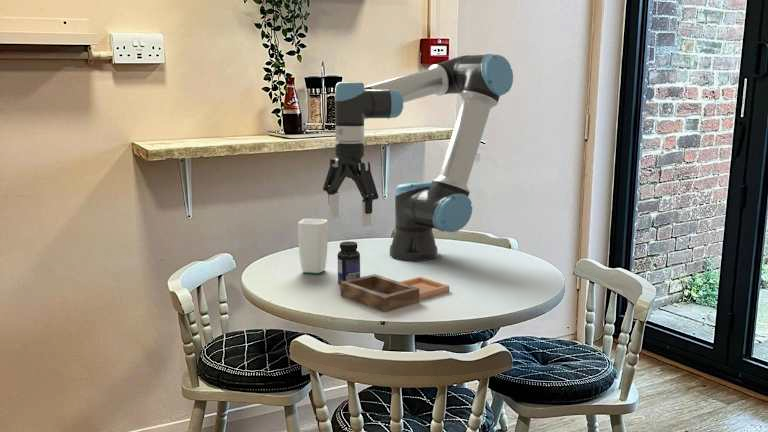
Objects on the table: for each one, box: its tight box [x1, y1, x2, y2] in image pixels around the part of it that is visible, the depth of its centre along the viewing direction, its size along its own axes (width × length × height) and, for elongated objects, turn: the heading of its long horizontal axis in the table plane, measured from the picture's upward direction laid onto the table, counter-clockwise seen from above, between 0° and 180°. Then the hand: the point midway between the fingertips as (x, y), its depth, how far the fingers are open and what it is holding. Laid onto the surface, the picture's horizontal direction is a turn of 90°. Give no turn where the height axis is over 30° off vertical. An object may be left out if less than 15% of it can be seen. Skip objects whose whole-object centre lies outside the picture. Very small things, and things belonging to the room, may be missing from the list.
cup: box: [297, 218, 329, 275], centre depth 193 cm, size 7×7×15 cm
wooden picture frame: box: [339, 273, 420, 313], centre depth 170 cm, size 17×12×4 cm
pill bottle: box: [337, 241, 361, 284], centre depth 183 cm, size 6×6×11 cm
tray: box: [400, 276, 450, 301], centre depth 177 cm, size 11×11×2 cm
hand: (349, 221), depth 181 cm, fingers open, 13 cm apart
